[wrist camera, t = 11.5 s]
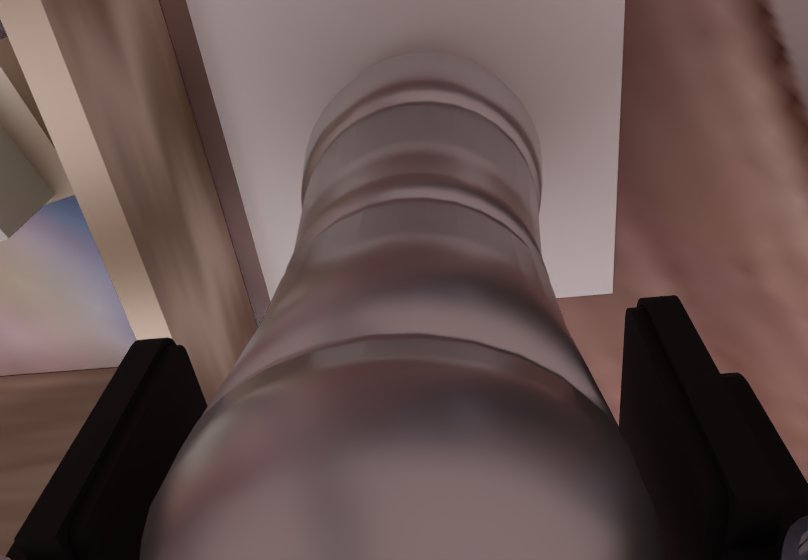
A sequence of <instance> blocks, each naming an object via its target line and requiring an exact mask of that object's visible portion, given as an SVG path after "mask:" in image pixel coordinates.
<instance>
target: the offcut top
mask: <svg viewBox="0 0 808 560" xmlns="http://www.w3.org/2000/svg"><path fill="white" fill-rule="evenodd" d="M54 195H55V194H54V193H53V192H52V190H51V189H50V188H49V186H48V185H47V184H46V183H45V181H44V180H43V179H42V177H41V176H40V175H39V174H38V172H37V171H36V170H35V168H34V167H33V166H32V164H31V163H30V162H29V161H28V159H27V158H26V157H25V155H24V154H23V153H22V152H21V150H20V149H19V148H18V146H17V145H16V144H15V143H14V141H13V140H12V139H11V137H10V136H9V135H8V133H7V132H6V131H5V130H4V128H3V127H2V126H1V124H0V242H2V241H4V240H6V239H9V238H10V237H11V236H12V235H13V234H14V233H15V232H16V231H17V230H18V229H19V228H20V227H21V226H22V225H24V224H25V223H26V222H27V221H28V220H29V219H30V218H31V217H32V216H33V215H34V214H35V213H36V212H37V211H38V210H39V209H41V208H42V207H43V206H44V205H45V204H46V203H47V202H48V201H49V200H50V199H51V198H52V197H53V196H54Z"/></svg>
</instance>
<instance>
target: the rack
mask: <svg viewBox="0 0 808 560" xmlns="http://www.w3.org/2000/svg"><path fill="white" fill-rule="evenodd" d="M0 19H1V22H2V24H3V26H4V29H5V31H6V34H7V36H8V38H9V41H10V43H11V45H12V48H13V50H14V52H15V55H16V57H17V59H18V62H19V64H20V67H21V69H22V71H23V74H24V76H25V78H26V81H27V83H28V85H29V88H30V90H31V92H32V95H33V97H34V99H35V102H36V104H37V107H38V109H39V111H40V114H41V116H42V118H43V121H44V123H45V125H46V128H47V130H48V132H49V135H50V137H51V139H52V142H53V144H54V147H55V149H56V151H57V154H58V156H59V158H60V161H61V163H62V165H63V168H64V170H65V172H66V175H67V177H68V179H69V182H70V184H71V187H72V189H73V191H74V194H75V196H76V198H77V201H78V203H79V205H80V208H81V210H82V212H83V215H84V217H85V219H86V222H87V224H88V227H89V229H90V231H91V234H92V236H93V238H94V241H95V243H96V245H97V248H98V250H99V252H100V255H101V257H102V260H103V262H104V264H105V267H106V269H107V271H108V274H109V276H110V278H111V281H112V283H113V285H114V288H115V290H116V292H117V295H118V297H119V300H120V302H121V304H122V307H123V309H124V311H125V314H126V316H127V318H128V321H129V323H130V325H131V328H132V330H133V332H134V335H135V337H136V340H143V339H155V338H167V337H168V338H172V339H173V340H174V341H175V343H176V345H183V346H184V347H185V349H186V351H187V353H188V356H189V358H190V361H191V364H192V366H193V369H194V371H195V374H196V377H197V379H198V382H199V385H200V387H201V390H202V392H203V395H204V398H205V400H206V403H207V405H209V403H210V402H211V400H212V399H213V397H214V396H215V394H216V392H217V391H218V389H219V388H220V386H221V385H222V383H223V382H224V380H225V378H226V377H227V375H228V374H229V372H230V371H231V369H232V368H233V366H234V364H235V363H236V361H237V360H238V358H239V357H240V355H241V354H242V352H243V350H244V349H245V347H246V346H247V344H248V343H249V341H250V340H251V338H252V336H253V335H254V333H255V332H256V330H257V329H258V328H257V324H256V321H255V318H254V314H253V311H252V308H251V304H250V301H249V298H248V294H247V291H246V288H245V285H244V281H243V278H242V275H241V271H240V268H239V265H238V261H237V258H236V255H235V251H234V248H233V245H232V241H231V238H230V235H229V232H228V228H227V225H226V222H225V218H224V215H223V212H222V208H221V205H220V202H219V198H218V195H217V192H216V188H215V185H214V182H213V178H212V175H211V172H210V169H209V165H208V162H207V159H206V155H205V152H204V149H203V145H202V142H201V139H200V135H199V132H198V129H197V125H196V122H195V119H194V116H193V112H192V109H191V106H190V102H189V99H188V96H187V92H186V89H185V86H184V82H183V79H182V76H181V72H180V69H179V66H178V63H177V59H176V56H175V53H174V49H173V46H172V43H171V39H170V36H169V33H168V29H167V26H166V23H165V19H164V16H163V13H162V10H161V6H160V3H159V0H0ZM117 369H118V368H106V369H93V370H80V371H67V372H55V373H42V374H29V375H16V376H4V377H0V555H1V556H6V554H7V553H8V551H9V549H10V548H11V546H12V544H13V543H14V541H15V540H14V538H15V536H16V535H17V533H18V531H19V530H20V528H21V526H22V525H23V523H24V522H25V520H26V518H27V517H28V515H29V513H30V512H31V510H32V508H33V507H34V505H35V503H36V502H37V500H38V499H39V497H40V495H41V494H42V492H43V490H44V489H45V487H46V485H47V484H48V482H49V480H50V479H51V477H52V475H53V474H54V472H55V471H56V469H57V467H58V466H59V464H60V462H61V461H62V459H63V457H64V456H65V454H66V452H67V451H68V449H69V448H70V446H71V444H72V443H73V441H74V439H75V438H76V436H77V434H78V433H79V431H80V429H81V428H82V426H83V425H84V423H85V421H86V420H87V418H88V416H89V415H90V413H91V411H92V410H93V408H94V406H95V405H96V403H97V401H98V400H99V398H100V397H101V395H102V393H103V392H104V390H105V388H106V387H107V385H108V383H109V382H110V380H111V378H112V377H113V375H114V374H115V372H116V370H117Z"/></svg>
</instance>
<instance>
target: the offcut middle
mask: <svg viewBox="0 0 808 560" xmlns="http://www.w3.org/2000/svg"><path fill="white" fill-rule="evenodd" d="M0 124H1V126H2V127H3V128H4V130H5V131H6V132H7V133H8V135H9V136H10V137H11V139H12V140H13V141H14V143H15V144H16V145H17V146H18V148H19V149H20V150H21V152H22V153H23V154H24V155H25V157H26V158H27V159H28V161H29V162H30V163H31V164H32V166H33V167H34V168H35V170H36V171H37V172H38V174H39V175H40V176H41V177H42V179H43V180H44V181H45V183H46V184H47V185H48V186H49V188H50V189H51V190H52V192H53V193H54V194H55V195H54V196H53V197H52V198H51V199H50V200H49V201H48V202H47V203H46V204H49V203H52V202H55V201H58V200H61V199H64V198H67V197H69V196H72V195H75V194H74V191H73V189H72V187H71V184H70V182H69V179H68V177H67V175H66V172H65V170H64V168H63V165H62V163H61V161H60V158H59V156H58V154H57V151H56V149H55V147H54V144H53V142H52V139H51V137H50V135H49V132H48V130H47V128H46V125H45V123H44V121H43V118H42V116H41V114H40V111H39V109H38V107H37V104H36V102H35V99H34V97H33V95H32V92H31V90H30V88H29V85H28V83H27V81H26V78H25V76H24V74H23V71H22V69H21V67H20V64H19V62H18V59H17V57H16V55H15V52H14V50H13V48H12V45H11V43H10V41H9V38H8V36H7V37H5V38H3V39H0ZM46 204H45V205H46Z"/></svg>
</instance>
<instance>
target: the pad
mask: <svg viewBox="0 0 808 560" xmlns="http://www.w3.org/2000/svg"><path fill="white" fill-rule="evenodd" d="M186 3H187V6H188V10H189V13H190V17H191V21H192V24H193V28H194V31H195V35H196V38H197V42H198V45H199V49H200V52H201V56H202V60H203V63H204V67H205V70H206V74H207V77H208V81H209V84H210V88H211V92H212V95H213V99H214V102H215V106H216V109H217V113H218V116H219V120H220V123H221V127H222V131H223V134H224V138H225V141H226V145H227V148H228V152H229V155H230V159H231V162H232V166H233V170H234V173H235V177H236V180H237V184H238V187H239V191H240V194H241V198H242V202H243V205H244V209H245V212H246V216H247V219H248V223H249V226H250V230H251V233H252V237H253V241H254V244H255V248H256V251H257V255H258V258H259V262H260V265H261V269H262V273H263V276H264V280H265V283H266V287H267V290H268V294H269V297H270V301H271V300H272V298H273V296H274V293H275V291H276V289H277V287H278V285H279V283H280V281H281V279H282V277H283V276H284V274H285V271H286V268H287V265H288V263H289V261H290V259H291V257H292V255H293V253H294V248H295V243H296V238H297V233H298V228H299V223H300V218H301V213H302V203H301V187H302V177H303V167H304V159H305V151H306V148H307V145H308V141H309V138H310V135H311V132H312V129H313V127H314V126H315V124H316V122H317V120H318V118H319V117H320V115H321V113H322V111H323V109H324V108H325V107H326V106H327V105H328V104H329V102H330V101H331V100H332V99H333V98H334V97H335V96H336V94H337V93H338V92H339V91H340V90H341V89H343V88H344V87H345V86H346V85H348V84H349V83H350V82H351V81H353V80H354V79H355V78H357V77H358V76H359V75H360V74H362V73H363V72H364V71H366V70H367V69H368V68H370V67H372V66H374V65H376V64H378V63H380V62H382V61H384V60H386V59H388V58H392V57H396V56H400V55H404V54H407V53H415V52H432V51H433V52H440V53H447V54H453V55H457V56H460V57H462V58H465V59H468V60H470V61H473V62H476V63H477V64H479V65H480V66H482V67H483V68H485V69H487V70H488V71H490V72H491V73H493V74H494V75H495V76H496V77H498V78H499V79H500V80H501V81H502V82H503V83H504V84H505V85H506V86H507V87H508V88H509V89H510V90H511V91H512V92H513V93H514V94H515V95H516V96H517V97H518V98H519V99H520V100H521V102H522V104H523V105H524V107H525V108H526V110H527V111H528V113H529V115H530V116H531V118H532V120H533V123H534V125H535V128H536V131H537V134H538V137H539V139H540V146H541V154H542V162H543V186H542V197H541V207H540V212H539V226H540V238H541V250H542V258H543V261H544V264H545V267H546V270H547V273H548V275H549V278H550V283H551V285H552V288H553V290H554V293H555V296H556V298H562V297H574V296H586V295H598V294H610V293H612V292H613V269H614V246H615V223H616V199H617V176H618V153H619V130H620V107H621V84H622V61H623V37H624V14H625V0H186Z"/></svg>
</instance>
